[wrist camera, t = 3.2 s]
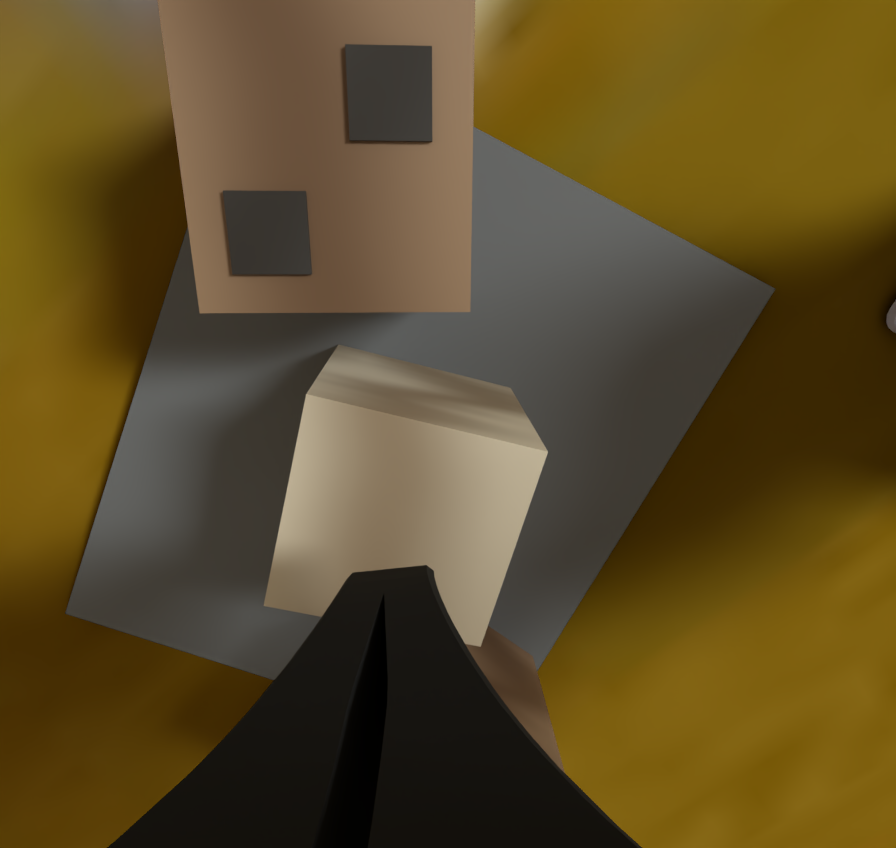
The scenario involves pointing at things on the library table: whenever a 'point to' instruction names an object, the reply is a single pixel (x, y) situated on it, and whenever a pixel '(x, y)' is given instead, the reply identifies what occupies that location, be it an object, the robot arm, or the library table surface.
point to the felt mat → (436, 346)
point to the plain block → (405, 485)
